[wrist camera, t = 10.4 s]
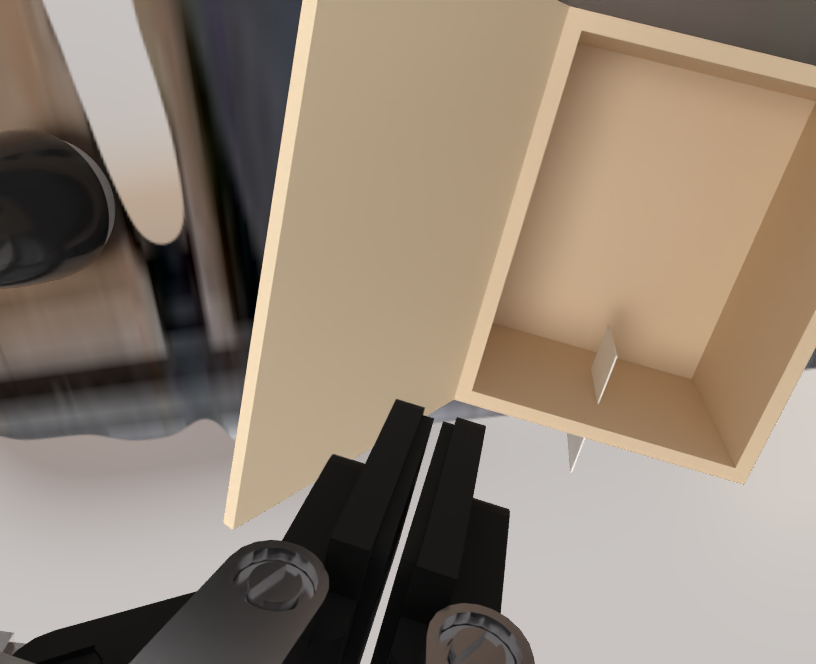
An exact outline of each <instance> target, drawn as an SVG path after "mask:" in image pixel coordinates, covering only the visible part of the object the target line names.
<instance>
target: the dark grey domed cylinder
mask: <svg viewBox="0 0 816 664" xmlns="http://www.w3.org/2000/svg"><path fill="white" fill-rule="evenodd" d="M114 221H115V201H114V196H113V192H112V189H111V187H110V184H109V182H108V180H107V178H106V176H105V174H104V173H103V171H102V170H101V169H100V167H99V166H98V165H97V164H96V163H95V162H94V160H93V159H92V158H90V157H89V156H88V155H87V154H86V153H85V152H83V151H82V150H80V149H79V148H77V147H76V146H74V145H72V144H70V143H68V142H66V141H63V140H61V139H59V138H58V137H56V136H53V135H51V134H49V133H46V132H42V131H38V130H32V129H16V130H8V131H2V132H0V289H7V288H18V287H25V286H31V285H37V284H41V283H46V282H50V281H54V280H58V279H62V278H65V277H68V276H70V275H73V274H75V273H77V272H79V271H81V270H83V269H85V268H86V267H88V266H89V265H90V264H91V263H93V262H94V261H95V259H96V258H97V257H98V256H99V254H100V253H101V251H102V249H103V247H104V245H105V244H106V242H107V240H108V239H109V237H110V234H111V232H112V229H113V226H114Z"/></svg>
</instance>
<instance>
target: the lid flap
mask: <svg viewBox="0 0 816 664" xmlns="http://www.w3.org/2000/svg"><path fill="white" fill-rule="evenodd" d="M569 7H570V6H568V5H566V4H564V3H562V2H560V1H558V0H303V2H302V8H301V15H300V22H299V28H298V35H297V41H296V48H295V55H294V61H293V68H292V74H291V81H290V88H289V94H288V101H287V107H286V114H285V120H284V127H283V134H282V140H281V147H280V153H279V160H278V167H277V173H276V180H275V186H274V193H273V200H272V206H271V213H270V219H269V226H268V233H267V239H266V246H265V252H264V259H263V265H262V272H261V279H260V285H259V292H258V298H257V305H256V312H255V318H254V325H253V331H252V338H251V345H250V351H249V358H248V364H247V371H246V377H245V384H244V391H243V397H242V404H241V410H240V417H239V424H238V430H237V437H236V443H235V450H234V457H233V463H232V470H231V476H230V483H229V489H228V496H227V503H226V510H225V516H224V524H226V525H227V526H228V527H230V528H231V529H232V530H234V529H236V528H237V527H239V526H241V525H243V524H244V523H246V522H247V521H249V520H251V519H253V518H254V517H256V516H258V515H259V514H261V513H263V512H265V511H266V510H268V509H270V508H271V507H273V506H275V505H276V504H278V503H280V502H281V501H283V500H285V499H286V498H288V497H290V496H292V495H293V494H295V493H297V492H298V491H300V490H302V489H303V488H305V487H307V486H308V485H310V484H312V483H314V482H315V481H317V479H318V477H319V475H320V474H321V472H322V470H323V468H324V467H325V465H326V463H327V461H328V460H329V458H330V457H331V455H333V454H336V455H339V456H342V457H345V458H348V459H351V460H352V459H354V458H356V457H357V456H359V455H361V454H363V453H364V452H366V451H368V450H369V449H371V448H373V446H374V444H375V442H376V440H377V438H378V436H379V434H380V432H381V429H382V427H383V425H384V423H385V421H386V419H387V417H388V415H389V413H390V410H391V408H392V406H393V404H394V402H395V400H396V399H399V400H402V401H405V402H409V403H412V404H415V405H418V406H422V407H425V410H424V414H423V415H424V416H427V415H429V414H430V413H432V412H434V411H435V410H437V409H439V408H440V407H442V406H444V405H445V404H447V403H449V402H450V401H452V400H454V398H455V394H456V391H457V387H458V384H459V381H460V377H461V374H462V370H463V367H464V364H465V360H466V357H467V353H468V350H469V347H470V343H471V340H472V336H473V333H474V330H475V326H476V323H477V319H478V316H479V313H480V309H481V306H482V302H483V299H484V296H485V292H486V289H487V285H488V282H489V279H490V275H491V272H492V268H493V265H494V262H495V258H496V255H497V251H498V248H499V245H500V241H501V238H502V234H503V231H504V228H505V224H506V221H507V217H508V214H509V211H510V207H511V204H512V200H513V197H514V194H515V190H516V187H517V183H518V180H519V177H520V173H521V170H522V166H523V163H524V160H525V156H526V153H527V149H528V146H529V143H530V139H531V136H532V132H533V129H534V126H535V122H536V119H537V115H538V112H539V109H540V105H541V102H542V98H543V95H544V92H545V88H546V85H547V81H548V78H549V75H550V71H551V68H552V64H553V61H554V58H555V54H556V51H557V47H558V44H559V41H560V37H561V34H562V30H563V27H564V24H565V20H566V17H567V13H568V10H569Z"/></svg>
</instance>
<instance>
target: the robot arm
mask: <svg viewBox="0 0 816 664" xmlns="http://www.w3.org/2000/svg"><path fill="white" fill-rule="evenodd" d="M424 410H425V407H422V406H418V405H415V404H412V403H409V402H405V401H402V400H399V399H396V400H395V402H394V404H393V406H392V408H391V410H390V413H389V415H388V417H387V419H386V421H385V423H384V425H383V427H382V429H381V432H380V434H379V436H378V438H377V440H376V442H375V444H374V446H373V448H372V451H371V453H370V455H369V457H368V459H367V461H366V464H364V463H361V462H358V461H355V460H351V459H348V458H345V457H342V456H339V455H336V454H333V455H331V457H330V458H329V460H328V461H327V463H326V465H325V467H324V468H323V470H322V472H321V474H320V475H319V477H318V479H317V481H316V482H315V484H314V486H313V488H312V489H311V491H310V493H309V495H308V496H307V498H306V500H305V502H304V504H303V505H302V507H301V508H300V510H299V512H298V514H297V516H296V517H295V519H294V521H293V522H292V524H291V526H290V528H289V530H288V531H287V533H286V535H285V537H284V538H283V540H282V541H278V540H267V541H259V542H254V543H252V544H249V545H247V546H244V547H242V548H240V549H239V550H238V551H236V552H235V553H234V554H232V555H231V556H230V557H229V558H228V559H227V560H226V561H225V562H224V563H223V564H222V565H221V567H220V568H219V569H218V570H217V571H216V572H215V573H214V574H213V575H212V576H211V577H210V578H209V579H208V581H206V582H205V583H204V585H203V586H202V587H201V588H200V589H199V590H198V591H196V592H193V593H190V594H185V595H182V596H178V597H175V598H171V599H167V600H164V601H160V602H157V603H153V604H149V605H146V606H142V607H138V608H135V609H131V610H127V611H124V612H120V613H116V614H113V615H109V616H106V617H102V618H98V619H95V620H91V621H87V622H84V623H80V624H77V625H73V626H69V627H66V628H62V629H58V630H55V631H52V632H50V633H47V634H44V635H42V636H39V637H37V638H34V639H33V640H31V641H30V642H28V643H27V644H23V643H15V642H14V633H11V632H4V631H0V664H360V661H361V658H362V656H363V652H364V649H365V646H366V643H367V640H368V637H369V633H370V631H371V628H372V625H373V621H374V618H375V615H376V612H377V609H378V606H379V603H380V600H381V596H382V594H383V590H384V587H385V584H386V581H387V578H388V575H389V572H390V569H391V566H392V563H393V559H394V556H395V553H396V550H397V547H398V544H399V540H400V537H401V533H402V530H403V526H404V523H405V519H406V516H407V512H408V509H409V505H410V502H411V498H412V494H413V491H414V487H415V484H416V481H417V477H418V473H419V470H420V466H421V463H422V459H423V456H424V452H425V449H426V445H427V442H428V438H429V435H430V431H431V428H432V424H433V421H434V418H431V417H427V416H424V415H423V414H424ZM485 429H486V426H484V425H481V424H477V423H474V422H471V421H468V420H464V419H461V418H458V417H457V418H456V422H455V425H453V424H450V423H447V422H444V421H443V424H442V427H441V430H440V434H439V437H438V440H437V443H436V447H435V450H434V453H433V456H432V459H431V463H430V466H429V469H428V472H427V476H426V479H425V482H424V486H423V489H422V492H421V496H420V499H419V502H418V505H417V508H416V511H415V515H414V518H413V521H412V525H411V527H410V531H409V534H408V537H407V541H406V544H405V547H404V550H403V554H402V557H401V560H400V564H399V567H398V570H397V574H396V577H395V581H394V584H393V587H392V591H391V595H390V598H389V601H388V605H387V609H386V612H385V615H384V619H383V623H382V626H381V629H380V633H379V636H378V639H377V643H376V647H375V650H374V653H373V657H372V660H371V663H370V664H535V662H534V657H533V654H532V650H531V648H530V644H529V642H528V641H527V639H526V638H525V636H524V635H523V633H522V632H521V630H520V629H519V628H518V627H517V626H516V625H515V624H513V623H512V622H511V621H510V620H509V619H508V618H507V617H505V616H503V615H502V614H501V603H502V592H503V582H504V571H505V560H506V549H507V538H508V528H509V517H510V511H509V509H507V508H503V507H500V506H497V505H493V504H491V503H487V502H484V501H481V500H478V499H475V498H473V494H474V489H475V483H476V478H477V472H478V467H479V461H480V455H481V451H482V445H483V440H484V434H485Z"/></svg>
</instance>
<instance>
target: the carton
mask: <svg viewBox="0 0 816 664" xmlns="http://www.w3.org/2000/svg"><path fill="white" fill-rule="evenodd" d="M815 348H816V66H813V65H809V64H805V63H801V62H797V61H793V60H789V59H785V58H780V57H776V56H772V55H768V54H764V53H760V52H756V51H752V50H748V49H743V48H739V47H735V46H731V45H727V44H723V43H719V42H715V41H710V40H706V39H702V38H698V37H694V36H690V35H686V34H682V33H678V32H673V31H669V30H665V29H661V28H657V27H653V26H649V25H645V24H641V23H636V22H632V21H628V20H624V19H620V18H616V17H612V16H608V15H604V14H599V13H595V12H591V11H587V10H583V9H579V8H575V7H571V6H570V7H569V10H568V13H567V17H566V20H565V24H564V27H563V30H562V34H561V37H560V41H559V44H558V47H557V51H556V54H555V58H554V61H553V64H552V68H551V71H550V75H549V78H548V81H547V85H546V88H545V92H544V95H543V98H542V102H541V105H540V109H539V112H538V115H537V119H536V122H535V126H534V129H533V132H532V136H531V139H530V143H529V146H528V149H527V153H526V156H525V160H524V163H523V166H522V170H521V173H520V177H519V180H518V183H517V187H516V190H515V194H514V197H513V200H512V204H511V207H510V211H509V214H508V217H507V221H506V224H505V228H504V231H503V234H502V238H501V241H500V245H499V248H498V251H497V255H496V258H495V262H494V265H493V268H492V272H491V275H490V279H489V282H488V285H487V289H486V292H485V296H484V299H483V302H482V306H481V309H480V313H479V316H478V319H477V323H476V326H475V330H474V333H473V336H472V340H471V343H470V347H469V350H468V353H467V357H466V360H465V364H464V367H463V370H462V374H461V377H460V381H459V384H458V387H457V391H456V394H455V398H454V400H458V401H461V402H464V403H468V404H471V405H475V406H478V407H481V408H485V409H488V410H492V411H495V412H498V413H502V414H505V415H508V416H512V417H515V418H519V419H522V420H525V421H529V422H533V423H536V424H539V425H542V426H546V427H549V428H553V429H556V430H559V431H563V432H566V433H567V436H568V449H569V461H570V472H572V471H573V468H574V466H575V464H576V461H577V459H578V456H579V453H580V451H581V448H582V446H583V443H584V441H585V438H587V439H590V440H594V441H597V442H600V443H604V444H607V445H611V446H614V447H617V448H621V449H624V450H627V451H631V452H634V453H638V454H641V455H644V456H648V457H651V458H655V459H658V460H662V461H665V462H668V463H672V464H675V465H679V466H682V467H686V468H689V469H692V470H695V471H699V472H702V473H706V474H709V475H712V476H716V477H719V478H723V479H726V480H729V481H733V482H736V483H740V484H743V485H744V484H745V482H746V480H747V478H748V477H749V475H750V473H751V471H752V469H753V467H754V465H755V463H756V461H757V459H758V457H759V455H760V453H761V452H762V450H763V448H764V446H765V444H766V442H767V440H768V438H769V436H770V434H771V432H772V430H773V428H774V427H775V425H776V423H777V421H778V419H779V417H780V415H781V413H782V411H783V409H784V407H785V405H786V403H787V401H788V400H789V398H790V396H791V394H792V392H793V390H794V388H795V386H796V384H797V382H798V380H799V378H800V376H801V374H802V373H803V371H804V369H805V367H806V365H807V363H808V361H809V359H810V357H811V355H812V353H813V351H814V349H815Z"/></svg>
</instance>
